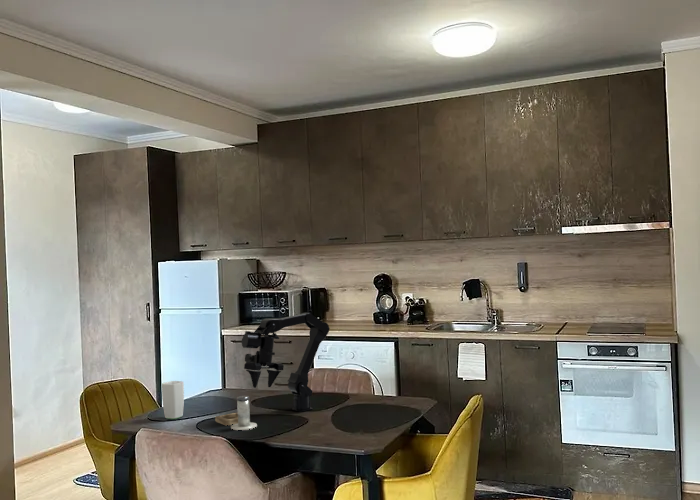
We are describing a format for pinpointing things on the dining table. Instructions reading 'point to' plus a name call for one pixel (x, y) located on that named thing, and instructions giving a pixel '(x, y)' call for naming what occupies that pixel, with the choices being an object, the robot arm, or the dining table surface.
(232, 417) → the oak collar
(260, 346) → the robot arm
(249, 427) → the disc
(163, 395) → the cup
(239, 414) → the glass jar
